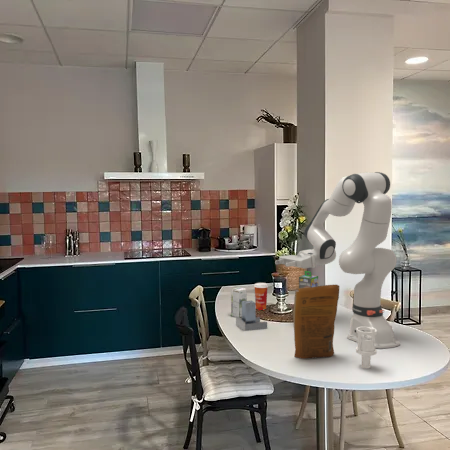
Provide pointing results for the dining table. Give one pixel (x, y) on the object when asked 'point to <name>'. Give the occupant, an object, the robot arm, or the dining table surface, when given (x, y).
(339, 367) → the dining table surface
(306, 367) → the dining table surface
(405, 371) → the dining table surface
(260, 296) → the paper cup
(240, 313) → the syrup box
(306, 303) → the pancake mix bag
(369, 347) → the white stepped cylinder
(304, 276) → the chalk box
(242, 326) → the channel bracket
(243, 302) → the block
